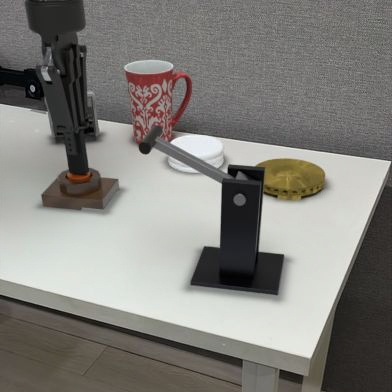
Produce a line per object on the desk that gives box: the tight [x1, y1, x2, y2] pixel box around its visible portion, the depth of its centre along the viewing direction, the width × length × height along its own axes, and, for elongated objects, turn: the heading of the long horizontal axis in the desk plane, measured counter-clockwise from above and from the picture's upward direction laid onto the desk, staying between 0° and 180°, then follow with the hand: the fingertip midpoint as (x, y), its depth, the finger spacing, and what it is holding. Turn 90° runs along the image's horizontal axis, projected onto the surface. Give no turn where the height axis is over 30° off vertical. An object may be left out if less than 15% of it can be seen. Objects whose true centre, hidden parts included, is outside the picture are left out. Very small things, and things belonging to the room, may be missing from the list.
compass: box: [255, 157, 326, 201], centre depth 94 cm, size 12×12×2 cm
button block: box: [40, 167, 120, 211], centre depth 89 cm, size 10×8×4 cm
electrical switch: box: [44, 90, 100, 143], centre depth 107 cm, size 9×5×9 cm, turn 99°
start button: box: [67, 172, 91, 182], centre depth 88 cm, size 4×4×2 cm
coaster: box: [167, 134, 225, 174], centre depth 100 cm, size 10×10×4 cm
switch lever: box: [138, 125, 256, 185], centre depth 65 cm, size 14×6×2 cm, turn 78°
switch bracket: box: [189, 164, 285, 296], centre depth 69 cm, size 11×9×14 cm
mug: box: [123, 59, 193, 145], centre depth 106 cm, size 13×9×14 cm
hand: (79, 171), depth 87 cm, fingers closed
